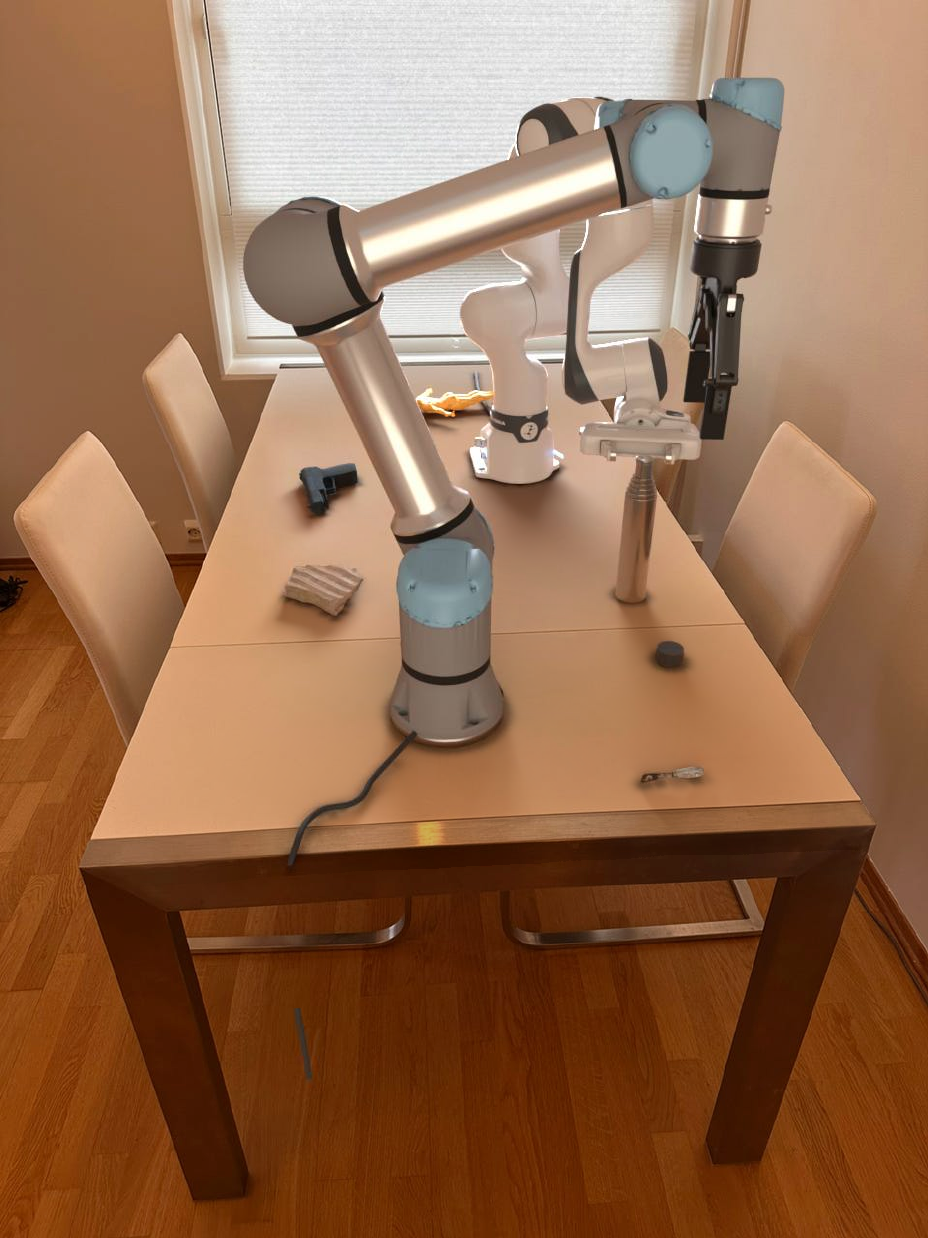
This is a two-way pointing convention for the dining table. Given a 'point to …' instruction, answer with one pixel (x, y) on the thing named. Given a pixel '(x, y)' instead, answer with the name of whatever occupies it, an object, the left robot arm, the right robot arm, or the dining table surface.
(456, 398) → the human figure
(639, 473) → the bottle
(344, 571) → the stone
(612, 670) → the dining table surface
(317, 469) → the handgun
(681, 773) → the putty knife
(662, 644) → the cap
